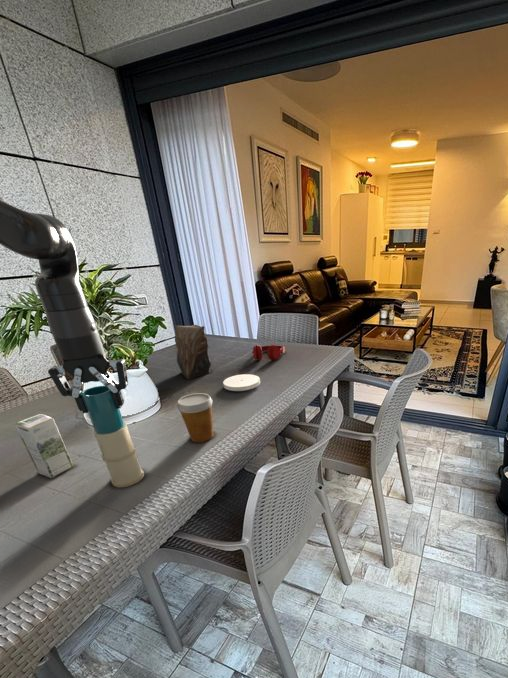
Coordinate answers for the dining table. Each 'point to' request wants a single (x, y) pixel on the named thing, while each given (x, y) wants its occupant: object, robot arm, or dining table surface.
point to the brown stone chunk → (192, 351)
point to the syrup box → (44, 445)
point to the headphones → (268, 351)
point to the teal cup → (102, 410)
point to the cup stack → (120, 457)
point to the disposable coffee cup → (197, 416)
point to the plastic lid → (241, 382)
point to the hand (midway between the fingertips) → (103, 409)
